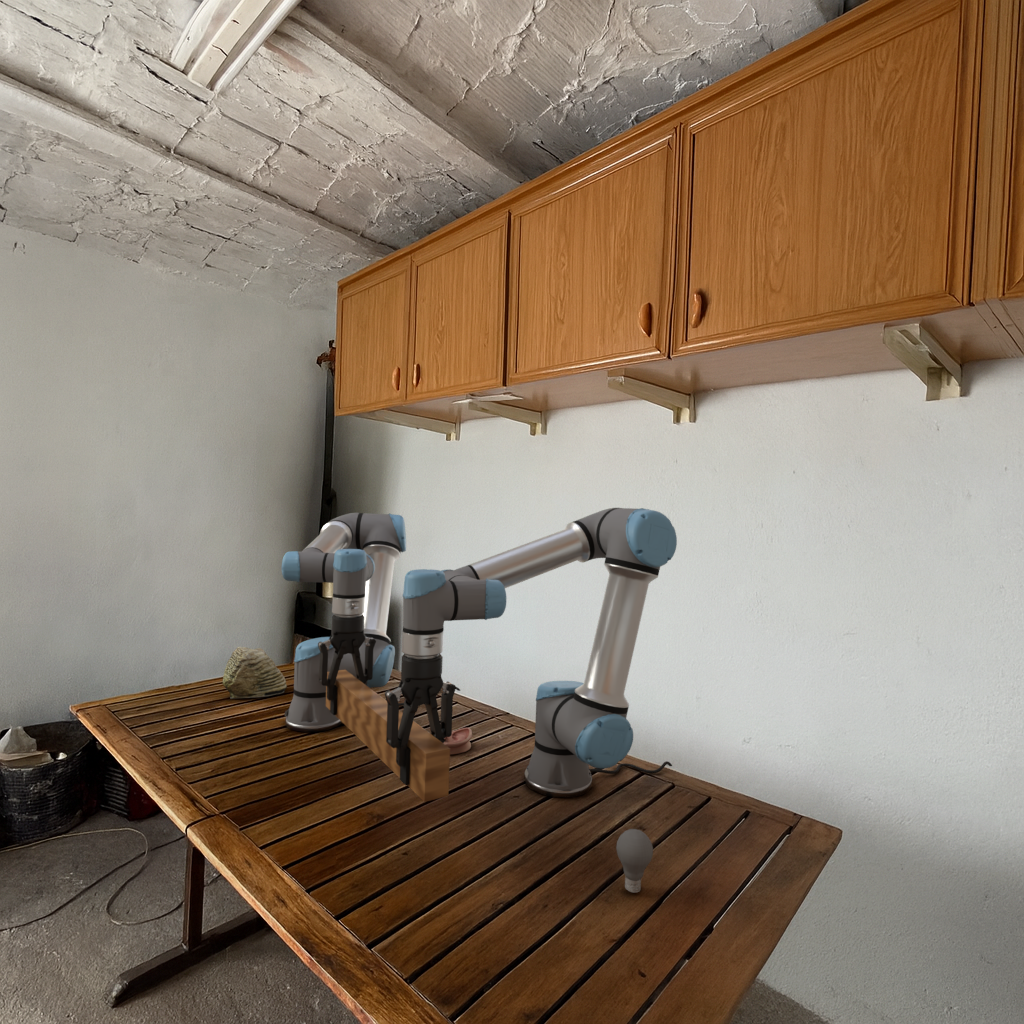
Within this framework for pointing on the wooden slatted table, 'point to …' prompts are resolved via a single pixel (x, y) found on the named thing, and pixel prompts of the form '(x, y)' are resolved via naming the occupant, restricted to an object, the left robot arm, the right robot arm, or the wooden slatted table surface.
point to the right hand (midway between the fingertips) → (418, 778)
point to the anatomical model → (459, 740)
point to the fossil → (252, 674)
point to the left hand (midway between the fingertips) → (344, 711)
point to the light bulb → (634, 857)
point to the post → (370, 725)
